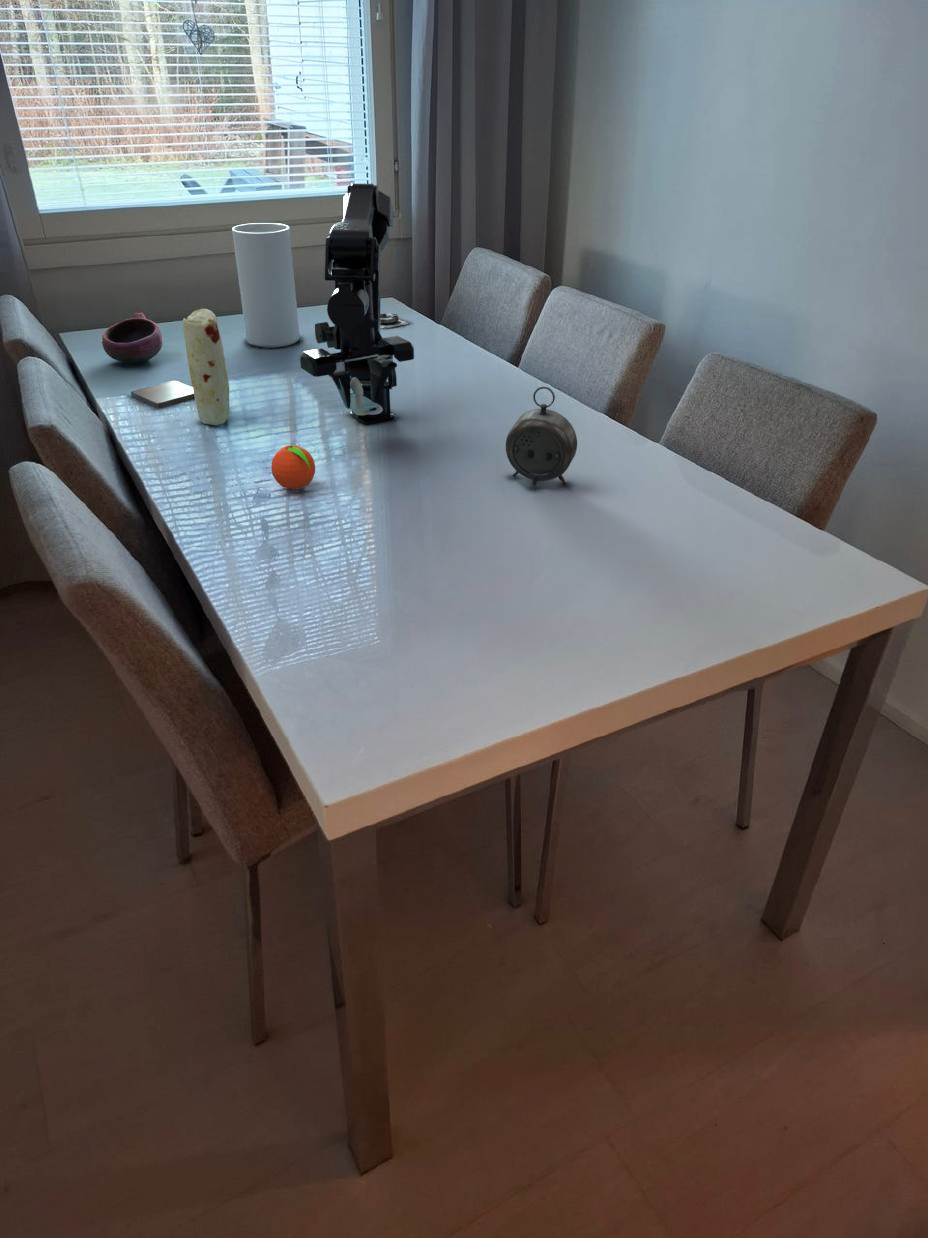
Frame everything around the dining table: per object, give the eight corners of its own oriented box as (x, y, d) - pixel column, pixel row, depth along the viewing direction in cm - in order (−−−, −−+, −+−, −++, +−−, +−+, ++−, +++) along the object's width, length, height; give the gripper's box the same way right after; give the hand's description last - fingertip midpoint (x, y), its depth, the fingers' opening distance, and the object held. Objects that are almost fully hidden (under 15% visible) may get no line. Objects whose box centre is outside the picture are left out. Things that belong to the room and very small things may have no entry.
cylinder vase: (295, 348, 202) (283, 233, 188) (241, 348, 202) (226, 232, 188) (304, 333, 212) (293, 223, 198) (253, 333, 212) (239, 222, 199)
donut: (365, 321, 222) (364, 313, 220) (389, 316, 226) (389, 308, 225) (383, 328, 216) (383, 320, 215) (408, 323, 220) (408, 315, 219)
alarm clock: (574, 482, 142) (582, 385, 133) (566, 495, 138) (574, 396, 129) (510, 472, 145) (514, 377, 136) (501, 485, 141) (504, 387, 132)
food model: (236, 427, 161) (220, 317, 150) (199, 431, 159) (181, 320, 148) (231, 409, 169) (216, 303, 158) (196, 412, 167) (178, 305, 156)
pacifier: (369, 403, 155) (339, 408, 152) (369, 368, 151) (337, 372, 148) (389, 415, 150) (358, 421, 147) (389, 379, 146) (357, 384, 143)
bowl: (173, 363, 192) (167, 326, 188) (114, 373, 186) (106, 335, 182) (152, 345, 204) (145, 310, 199) (96, 354, 198) (87, 318, 193)
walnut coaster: (175, 384, 181) (174, 379, 180) (202, 395, 175) (201, 390, 175) (131, 396, 175) (130, 391, 174) (158, 408, 169) (157, 403, 169)
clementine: (330, 489, 139) (326, 447, 135) (295, 503, 135) (291, 460, 131) (299, 474, 144) (294, 434, 140) (264, 487, 140) (259, 446, 136)
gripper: (382, 294, 151) (386, 382, 160) (282, 308, 142) (292, 401, 151) (414, 308, 143) (416, 400, 152) (310, 324, 135) (319, 421, 143)
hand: (361, 405), depth 150 cm, fingers closed on pacifier, 5 cm apart
